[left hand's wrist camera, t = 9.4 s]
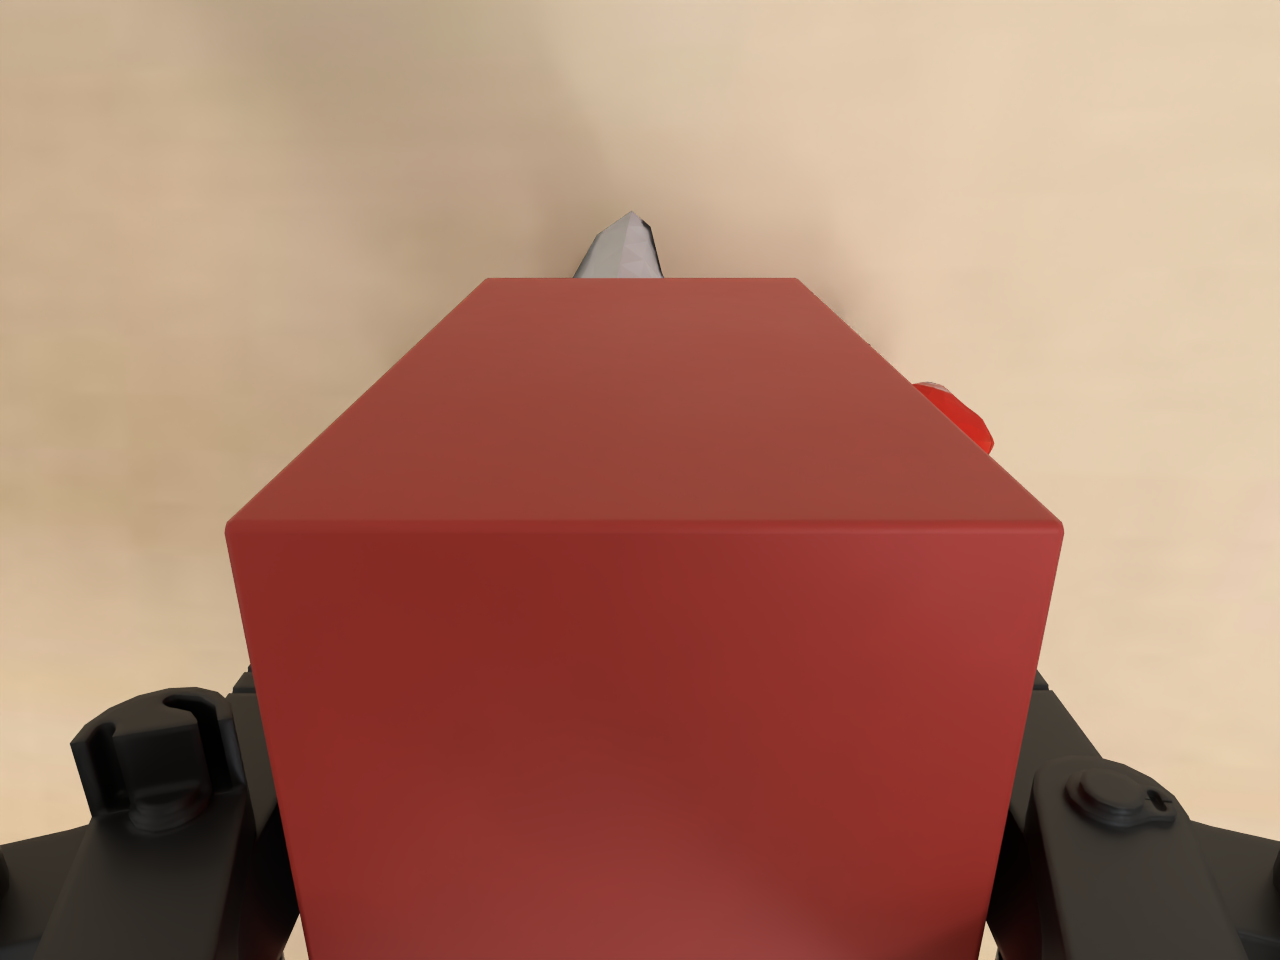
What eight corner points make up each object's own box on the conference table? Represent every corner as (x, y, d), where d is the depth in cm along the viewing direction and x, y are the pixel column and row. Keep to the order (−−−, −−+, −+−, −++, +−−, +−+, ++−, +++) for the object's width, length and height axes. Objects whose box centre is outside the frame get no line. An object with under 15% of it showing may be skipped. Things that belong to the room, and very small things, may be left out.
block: (484, 277, 15) (218, 524, 5) (798, 277, 15) (1071, 524, 5) (512, 690, 18) (372, 1297, 9) (770, 690, 18) (913, 1297, 9)
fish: (889, 717, 27) (867, 804, 17) (471, 539, 32) (276, 531, 22) (1011, 386, 26) (1056, 290, 17) (569, 262, 31) (414, 134, 22)
